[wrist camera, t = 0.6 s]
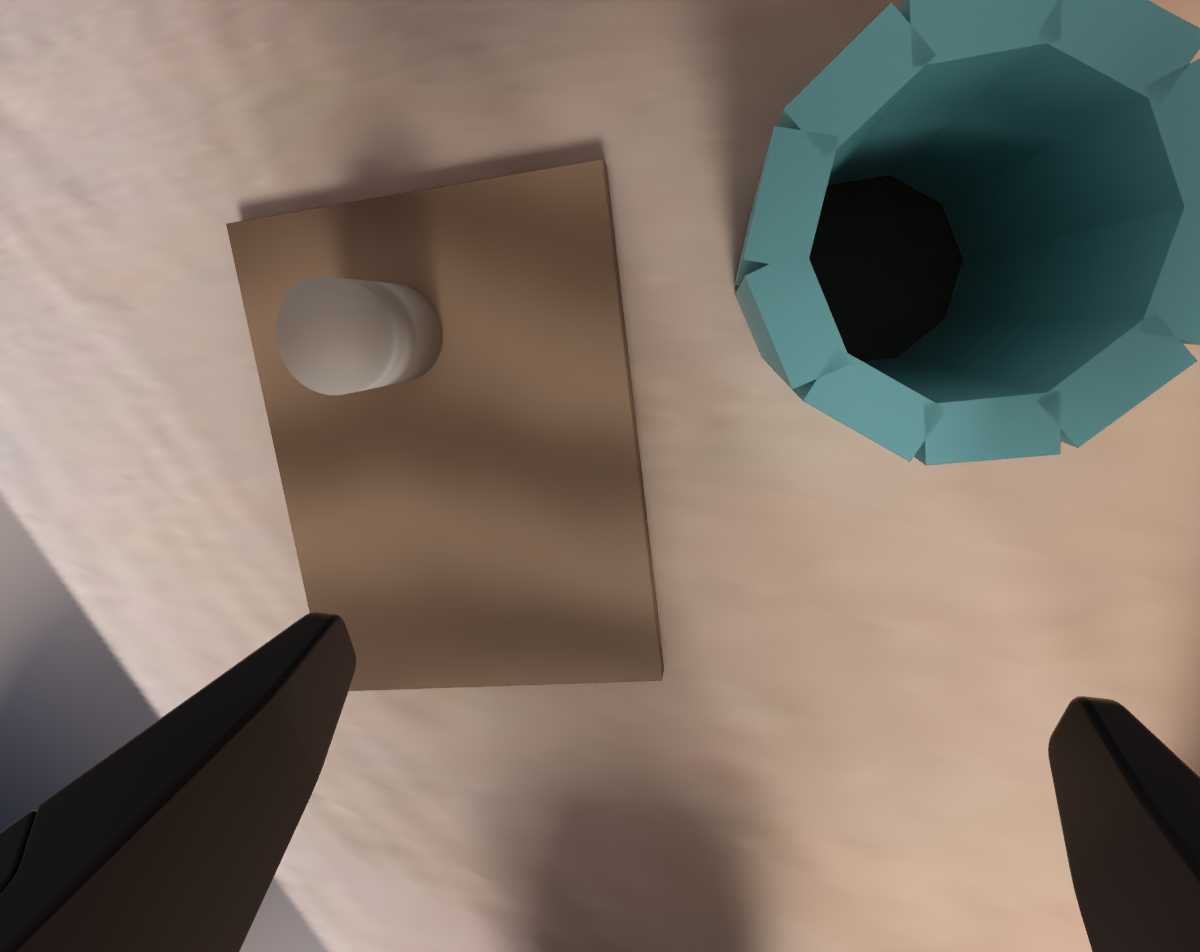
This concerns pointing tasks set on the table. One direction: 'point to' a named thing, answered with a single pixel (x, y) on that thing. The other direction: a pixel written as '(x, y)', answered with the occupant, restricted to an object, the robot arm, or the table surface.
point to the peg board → (459, 429)
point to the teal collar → (997, 220)
